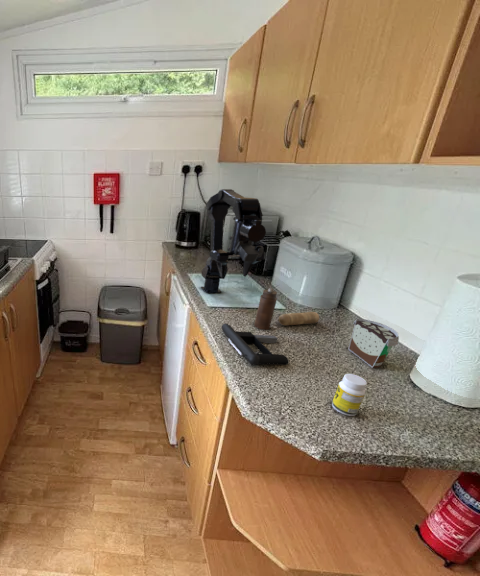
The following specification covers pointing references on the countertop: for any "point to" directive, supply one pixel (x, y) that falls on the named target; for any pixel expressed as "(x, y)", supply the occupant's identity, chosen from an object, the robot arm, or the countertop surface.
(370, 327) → the food container
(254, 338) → the door handle
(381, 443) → the countertop surface
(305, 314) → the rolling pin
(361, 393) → the supplement bottle
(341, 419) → the countertop surface
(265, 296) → the pepper mill
